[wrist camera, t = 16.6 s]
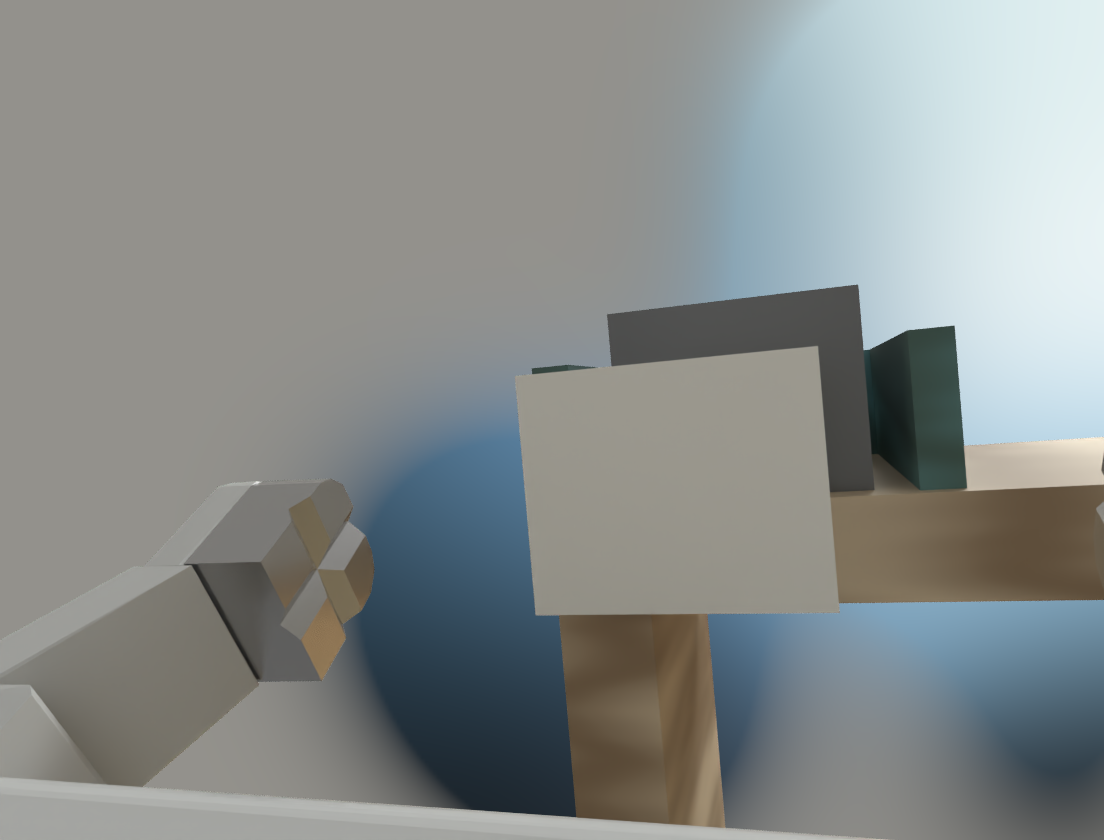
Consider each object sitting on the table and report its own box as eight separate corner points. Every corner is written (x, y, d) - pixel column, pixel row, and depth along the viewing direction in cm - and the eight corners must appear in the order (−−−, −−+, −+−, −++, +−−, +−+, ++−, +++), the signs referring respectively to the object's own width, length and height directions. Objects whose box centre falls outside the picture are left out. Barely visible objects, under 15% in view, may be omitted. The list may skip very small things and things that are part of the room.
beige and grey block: (957, 611, 7) (920, 166, 7) (448, 616, 9) (414, 244, 9) (853, 459, 23) (842, 314, 23) (673, 470, 24) (661, 334, 24)
